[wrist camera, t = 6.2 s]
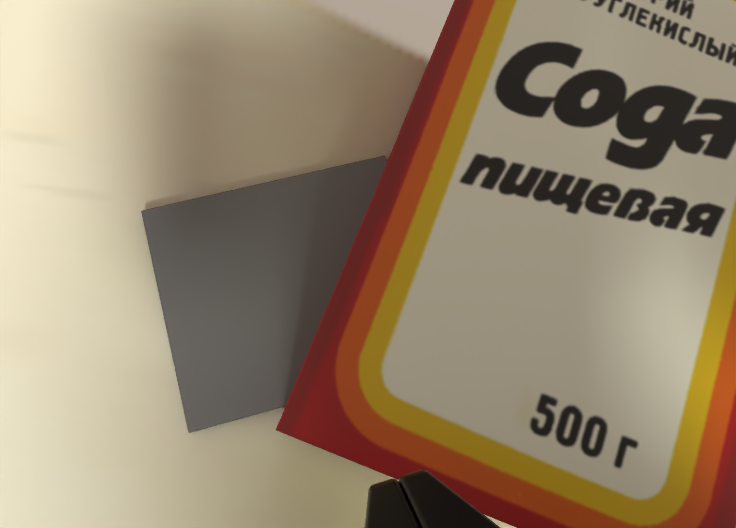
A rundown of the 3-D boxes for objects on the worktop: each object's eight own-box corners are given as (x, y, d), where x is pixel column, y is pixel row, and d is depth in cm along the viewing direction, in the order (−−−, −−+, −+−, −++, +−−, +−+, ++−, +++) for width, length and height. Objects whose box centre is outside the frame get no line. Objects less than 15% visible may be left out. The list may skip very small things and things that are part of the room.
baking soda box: (275, 430, 12) (521, -160, 17) (280, 425, 19) (457, -1, 23) (718, 609, 13) (850, -18, 17) (575, 545, 19) (697, 100, 23)
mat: (444, 361, 20) (446, 360, 20) (190, 432, 19) (188, 432, 19) (383, 159, 21) (384, 155, 21) (143, 213, 20) (141, 210, 20)
